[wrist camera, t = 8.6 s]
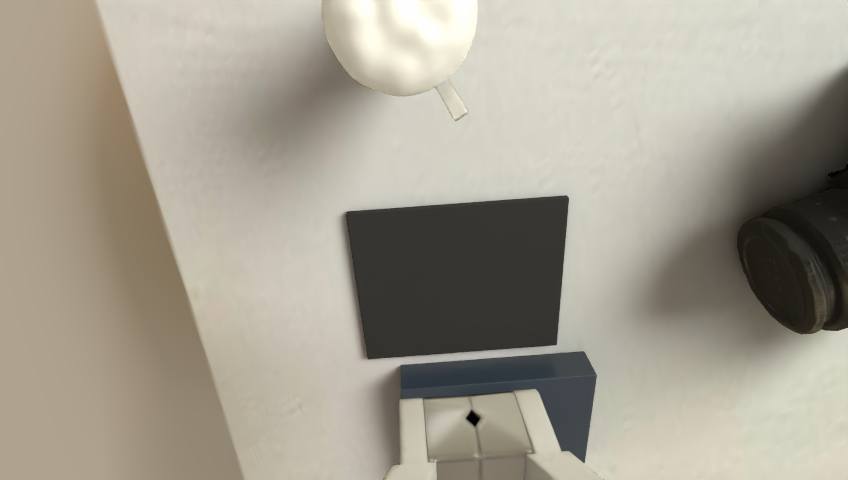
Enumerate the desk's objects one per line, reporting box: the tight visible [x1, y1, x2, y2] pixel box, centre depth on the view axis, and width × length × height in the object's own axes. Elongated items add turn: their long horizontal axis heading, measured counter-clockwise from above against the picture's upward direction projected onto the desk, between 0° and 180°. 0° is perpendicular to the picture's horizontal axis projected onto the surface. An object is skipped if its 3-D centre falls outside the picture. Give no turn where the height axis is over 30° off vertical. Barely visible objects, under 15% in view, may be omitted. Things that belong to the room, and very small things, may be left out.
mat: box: [346, 196, 569, 359], centre depth 27 cm, size 12×10×1 cm
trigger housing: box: [401, 352, 597, 464], centre depth 30 cm, size 12×10×4 cm
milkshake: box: [322, 0, 478, 121], centre depth 16 cm, size 4×5×10 cm
